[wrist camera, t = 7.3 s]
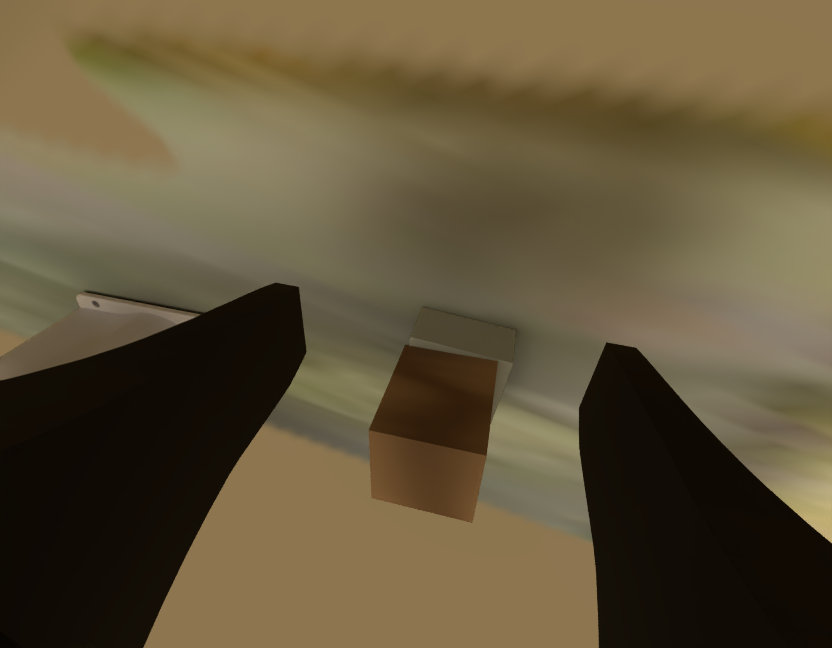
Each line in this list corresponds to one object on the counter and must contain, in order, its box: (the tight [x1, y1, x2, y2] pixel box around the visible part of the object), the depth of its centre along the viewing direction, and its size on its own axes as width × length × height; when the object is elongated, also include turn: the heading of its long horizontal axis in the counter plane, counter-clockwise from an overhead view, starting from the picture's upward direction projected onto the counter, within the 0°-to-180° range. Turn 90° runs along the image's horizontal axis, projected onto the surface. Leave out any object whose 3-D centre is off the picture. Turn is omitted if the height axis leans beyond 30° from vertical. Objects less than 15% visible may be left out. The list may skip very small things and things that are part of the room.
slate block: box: [409, 307, 516, 424], centre depth 22 cm, size 5×5×3 cm
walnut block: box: [369, 345, 498, 523], centre depth 19 cm, size 4×4×6 cm
